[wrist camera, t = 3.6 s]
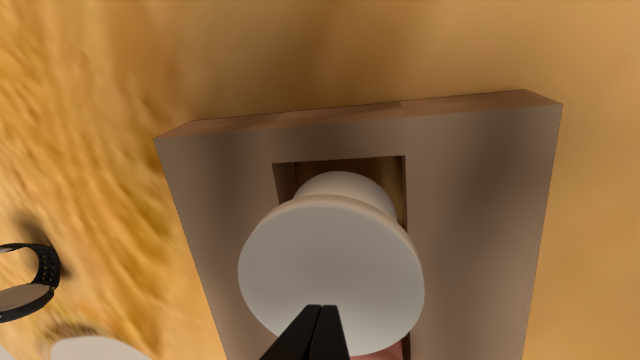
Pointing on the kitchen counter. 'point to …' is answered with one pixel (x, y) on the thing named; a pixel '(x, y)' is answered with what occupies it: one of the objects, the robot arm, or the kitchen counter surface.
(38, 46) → the kitchen counter surface
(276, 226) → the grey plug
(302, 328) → the robot arm
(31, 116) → the kitchen counter surface
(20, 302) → the smartwatch
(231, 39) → the kitchen counter surface
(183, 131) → the socket board
